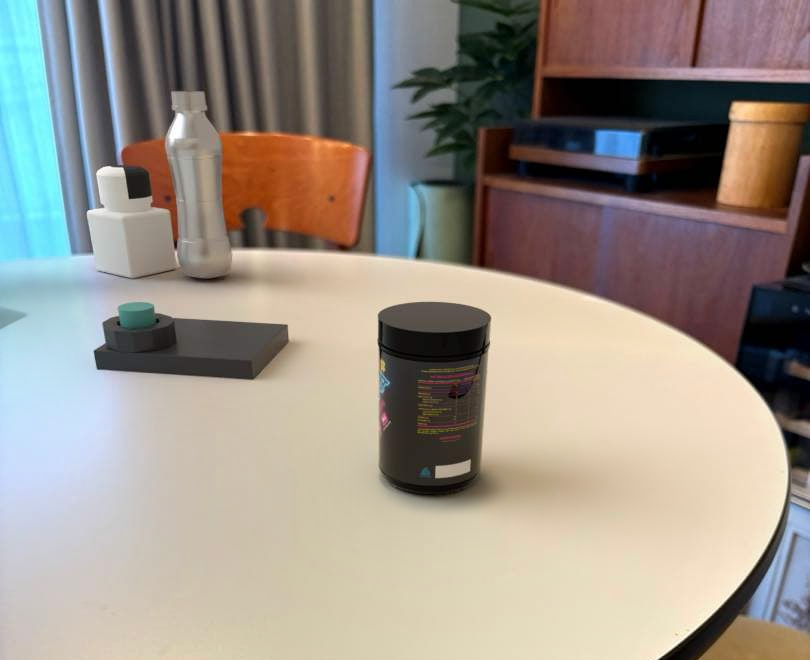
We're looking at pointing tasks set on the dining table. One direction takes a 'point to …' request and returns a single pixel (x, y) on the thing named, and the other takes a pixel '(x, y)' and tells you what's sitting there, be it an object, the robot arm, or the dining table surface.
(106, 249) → the medicine bottle
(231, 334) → the dark grey button base
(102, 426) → the dining table surface
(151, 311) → the button
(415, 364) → the supplement container
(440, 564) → the dining table surface
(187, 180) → the silver bottle
